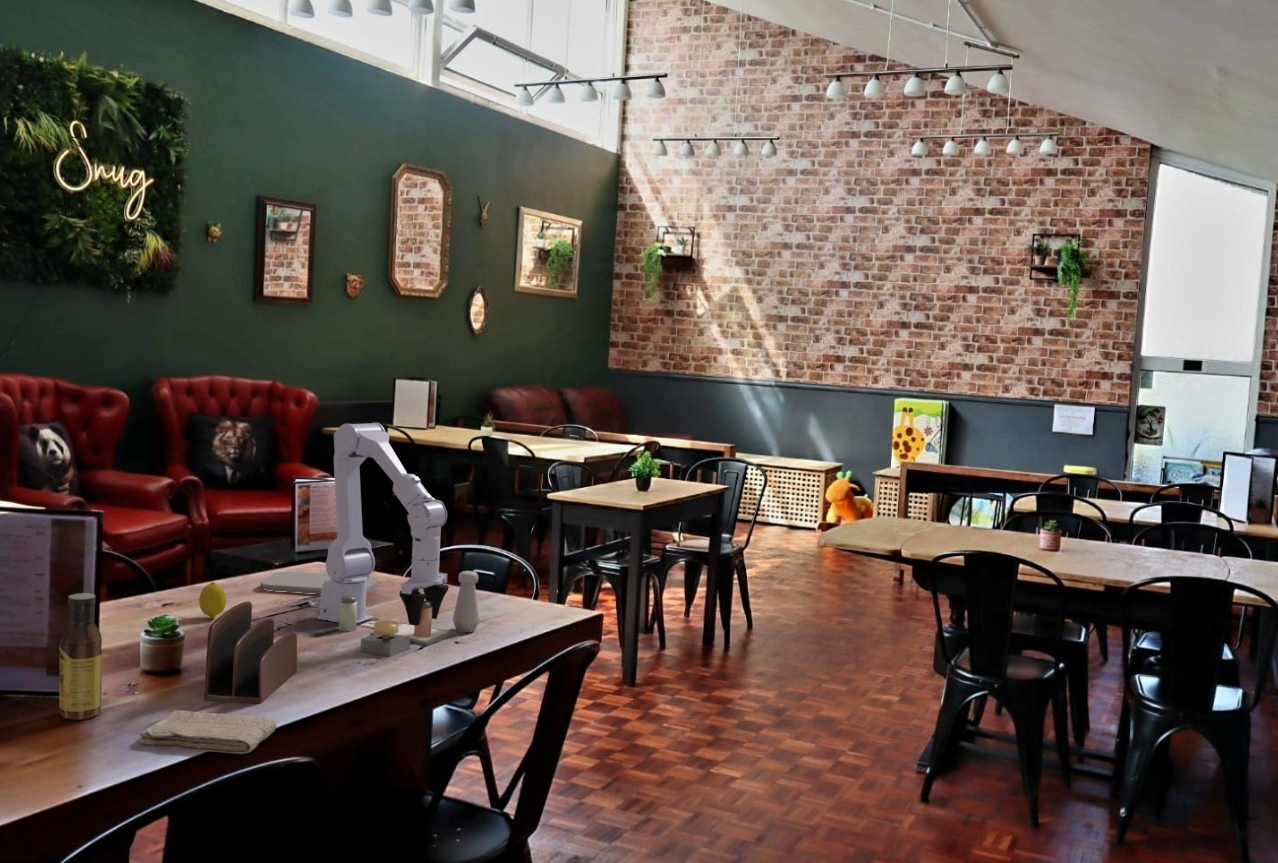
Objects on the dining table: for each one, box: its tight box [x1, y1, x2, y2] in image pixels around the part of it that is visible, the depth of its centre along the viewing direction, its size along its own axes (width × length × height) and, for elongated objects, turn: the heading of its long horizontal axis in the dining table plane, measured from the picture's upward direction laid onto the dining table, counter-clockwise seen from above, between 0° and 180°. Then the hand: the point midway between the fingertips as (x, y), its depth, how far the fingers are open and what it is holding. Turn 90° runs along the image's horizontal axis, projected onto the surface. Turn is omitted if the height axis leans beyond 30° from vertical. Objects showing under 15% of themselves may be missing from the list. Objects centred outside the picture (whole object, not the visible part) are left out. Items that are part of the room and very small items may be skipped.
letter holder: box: [203, 601, 298, 705], centre depth 211 cm, size 10×20×14 cm, turn 179°
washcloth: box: [139, 709, 277, 755], centre depth 184 cm, size 12×18×3 cm, turn 87°
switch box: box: [360, 633, 411, 657], centre depth 239 cm, size 7×7×2 cm
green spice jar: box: [338, 596, 357, 632], centre depth 253 cm, size 4×4×7 cm
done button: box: [373, 620, 399, 640], centre depth 239 cm, size 5×5×4 cm
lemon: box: [198, 582, 227, 619], centre depth 256 cm, size 6×6×8 cm
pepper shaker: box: [414, 600, 433, 637], centre depth 249 cm, size 4×4×7 cm
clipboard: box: [370, 622, 456, 646], centre depth 252 cm, size 14×11×1 cm
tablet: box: [259, 571, 379, 594], centre depth 291 cm, size 16×26×2 cm, turn 88°
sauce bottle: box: [58, 592, 103, 721], centre depth 189 cm, size 7×6×20 cm
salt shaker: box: [452, 570, 480, 633], centre depth 258 cm, size 6×6×13 cm
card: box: [360, 620, 377, 629], centre depth 258 cm, size 5×4×1 cm
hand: (423, 621), depth 249 cm, fingers open, 6 cm apart
